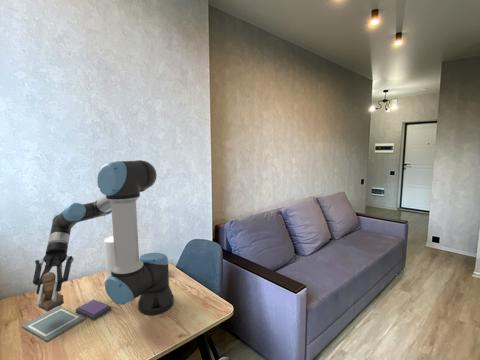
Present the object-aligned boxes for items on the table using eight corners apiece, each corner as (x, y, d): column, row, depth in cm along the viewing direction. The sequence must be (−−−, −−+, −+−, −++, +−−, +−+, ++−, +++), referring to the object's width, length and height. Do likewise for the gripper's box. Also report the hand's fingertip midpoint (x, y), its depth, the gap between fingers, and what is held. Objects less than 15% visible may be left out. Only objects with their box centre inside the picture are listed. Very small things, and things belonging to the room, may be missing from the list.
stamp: (63, 303, 105) (60, 271, 103) (47, 311, 100) (43, 277, 98) (55, 299, 108) (52, 268, 106) (39, 307, 102) (35, 274, 101)
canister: (100, 276, 142) (97, 241, 140) (117, 265, 155) (115, 233, 153) (121, 279, 139) (119, 243, 137) (137, 267, 152) (135, 235, 150)
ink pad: (111, 309, 112) (110, 305, 112) (93, 320, 105) (93, 316, 105) (93, 302, 118) (93, 298, 118) (75, 312, 111) (75, 308, 110)
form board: (85, 319, 106) (85, 317, 106) (47, 342, 94) (47, 340, 94) (59, 307, 114) (59, 306, 114) (21, 327, 102) (21, 325, 102)
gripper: (82, 246, 118) (74, 300, 105) (38, 250, 113) (24, 308, 100) (78, 238, 113) (69, 294, 99) (31, 243, 108) (15, 303, 94)
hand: (46, 301), depth 99 cm, fingers closed on stamp, 4 cm apart
